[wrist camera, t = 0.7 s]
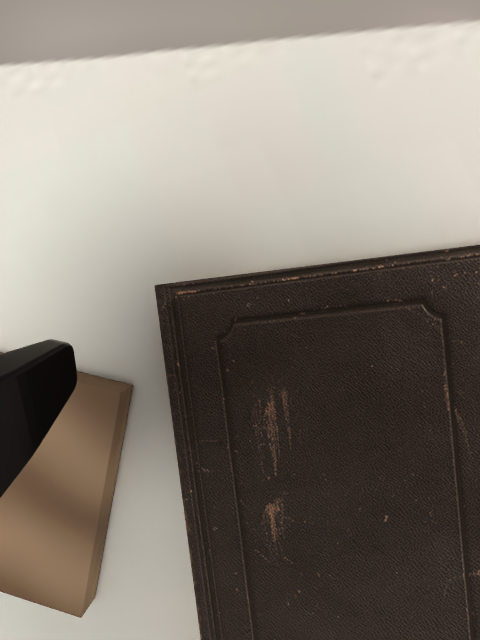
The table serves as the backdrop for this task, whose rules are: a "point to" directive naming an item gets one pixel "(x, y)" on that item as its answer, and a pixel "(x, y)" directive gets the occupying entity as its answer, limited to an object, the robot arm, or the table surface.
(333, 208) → the table surface
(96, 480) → the board
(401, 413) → the hardcover book
